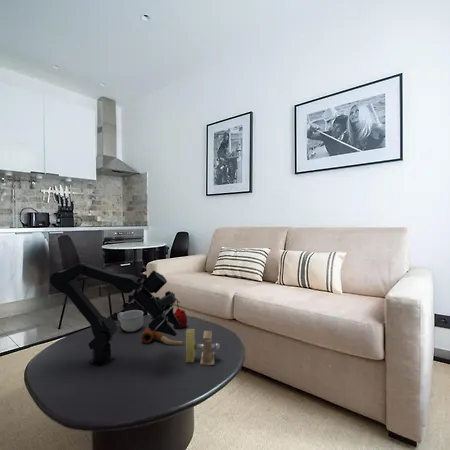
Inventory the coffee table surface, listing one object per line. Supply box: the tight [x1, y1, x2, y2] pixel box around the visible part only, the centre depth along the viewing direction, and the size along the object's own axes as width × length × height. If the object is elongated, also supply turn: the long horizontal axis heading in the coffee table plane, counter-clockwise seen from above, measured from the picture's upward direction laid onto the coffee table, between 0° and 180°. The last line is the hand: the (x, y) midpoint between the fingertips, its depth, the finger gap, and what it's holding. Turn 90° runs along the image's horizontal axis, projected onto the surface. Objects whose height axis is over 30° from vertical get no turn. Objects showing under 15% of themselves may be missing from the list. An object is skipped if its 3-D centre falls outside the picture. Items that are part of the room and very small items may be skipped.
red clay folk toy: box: [173, 298, 188, 329], centre depth 139 cm, size 8×7×15 cm
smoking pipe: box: [141, 327, 184, 346], centre depth 121 cm, size 7×18×6 cm, turn 82°
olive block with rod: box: [185, 328, 221, 363], centre depth 105 cm, size 13×4×11 cm, turn 91°
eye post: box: [199, 330, 216, 366], centre depth 105 cm, size 5×9×10 cm, turn 1°
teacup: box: [116, 309, 144, 333], centre depth 137 cm, size 14×11×8 cm
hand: (177, 330), depth 105 cm, fingers open, 9 cm apart
